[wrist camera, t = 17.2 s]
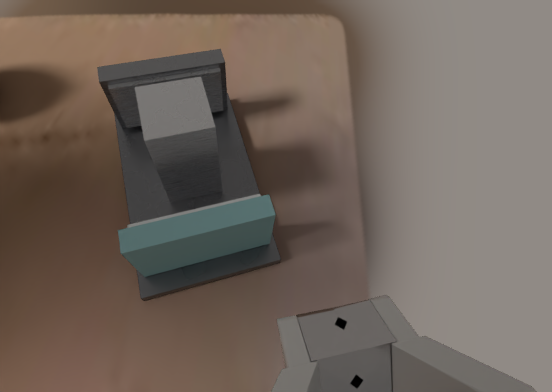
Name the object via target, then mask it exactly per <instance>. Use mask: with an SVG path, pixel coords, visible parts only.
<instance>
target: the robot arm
mask: <svg viewBox="0 0 552 392" xmlns="http://www.w3.org/2000/svg"><path fill="white" fill-rule="evenodd" d="M277 324H278V330H279V335H280V341H281V347H282V353H283V358H284V364H285V369H282V370H281V372H280V374H279V376H278V378H277V380H276V383H275V385H274V387H273V389H272V391H271V392H536V391H535V390H534V388H532V386H530V385H528V384H525V383H523V382H521V381H519V380H517V379H515V378H513V377H511V376H509V375H506V374H504V373H502V372H500V371H498V370H496V369H494V368H492V367H490V366H487V365H485V364H483V363H481V362H479V361H477V360H475V359H473V358H471V357H469V356H466V355H464V354H462V353H460V352H458V351H456V350H454V349H452V348H450V347H447V346H445V345H443V344H441V343H439V342H437V341H435V340H432V339H431V338H428V337H426V336H422V337H419V336H418V335H417V333H416V332H415V331H414V329H413V328H412V327H411V325H410V324H409V323H408V322H407V320H406V319H405V317H404V316H403V315H402V313H401V312H400V311H399V309H398V308H397V307H396V305H395V304H394V303H393V301H392V300H391V299H390V297H389V296H387V295H383V296H379V297H376V298H371V299H368V300H364V301H360V302H356V303H351V304H347V305H343V306H338V307H334V308H329V309H323V310H318V311H313V312H308V313H303V314H298V315H296V316H295V315H294V316H289V317H285V318H280V319H277Z"/></svg>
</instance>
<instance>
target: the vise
mask: <svg viewBox="0 0 552 392" xmlns="http://www.w3.org/2000/svg"><path fill="white" fill-rule="evenodd" d="M97 68H98V76H99V82H100V84H101V87H102V89H103V91H104V93H105V95H106V97H107V99H108V101H109V103H110V105H111V107H112V109H113V111H114V114H115V121H116V128H117V135H118V142H119V149H120V156H121V163H122V170H123V177H124V184H125V191H126V198H127V205H128V212H129V219H130V224H133V223H138V222H142V221H146V220H150V219H155V218H159V217H163V216H167V215H171V214H176V213H180V212H184V211H188V210H193V209H197V208H201V207H205V206H209V205H214V204H218V203H222V202H226V201H231V200H235V199H239V198H243V197H248V196H252V195H256V194H260V193H259V189H258V186H257V183H256V180H255V177H254V174H253V171H252V168H251V164H250V161H249V158H248V155H247V152H246V149H245V146H244V143H243V139H242V136H241V133H240V130H239V127H238V124H237V121H236V118H235V114H234V111H233V108H232V105H231V102H230V99H229V96H228V93H227V88H226V71H225V61H224V58H223V55H222V52H221V49H217V50H210V51H203V52H196V53H190V54H183V55H176V56H169V57H162V58H156V59H149V60H142V61H135V62H129V63H122V64H115V65H108V66H101V67H97ZM195 77H201V78H202V82H203V85H204V89H205V92H206V96H207V99H208V103H209V106H210V110H211V113H212V117H213V120H214V124H215V127H216V136H217V145H218V154H219V163H220V172H221V181H222V190H223V191H220V192H215V193H211V194H206V195H202V196H198V197H193V198H189V199H185V200H180V201H176V202H172V203H170V201H169V198H168V196H167V193H166V191H165V189H164V186H163V184H162V182H161V179H160V177H159V174H158V172H157V170H156V167H155V165H154V163H153V160H152V158H151V156H150V153H149V151H148V148H147V146H146V144H145V141H144V137H143V131H142V126H141V120H140V114H139V109H138V103H137V98H136V92H135V87H139V86H145V85H151V84H158V83H164V82H170V81H176V80H182V79H188V78H195ZM280 261H281V258H280V255H279V252H278V249H277V246H276V243H275V239H274V236H273V233H272V235H271V240H270V244H266V245H262V246H259V247H255V248H251V249H248V250H244V251H240V252H236V253H233V254H229V255H225V256H221V257H218V258H214V259H210V260H206V261H203V262H199V263H195V264H192V265H188V266H184V267H180V268H177V269H173V270H169V271H165V272H162V273H158V274H154V275H150V276H147V277H144V276H143V275H142V274H141V273H140V272H139V271H138V270H137V275H138V282H139V289H140V296H141V299H142V300H144V301H146V300H149V299H153V298H157V297H160V296H164V295H167V294H171V293H174V292H178V291H181V290H185V289H189V288H192V287H196V286H199V285H203V284H206V283H210V282H214V281H217V280H221V279H224V278H228V277H231V276H235V275H238V274H242V273H246V272H249V271H253V270H256V269H260V268H263V267H267V266H270V265H274V264H278V263H280Z"/></svg>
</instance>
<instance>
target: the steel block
mask: <svg viewBox="0 0 552 392" xmlns="http://www.w3.org/2000/svg"><path fill="white" fill-rule="evenodd" d="M135 92H136V98H137V103H138V109H139V114H140V120H141V126H142V131H143V137H144V141H145V144H146V146H147V148H148V151H149V153H150V156H151V158H152V160H153V163H154V165H155V167H156V170H157V172H158V174H159V177H160V179H161V182H162V184H163V186H164V189H165V191H166V193H167V196H168V198H169V201H170V203H172V202H176V201H180V200H185V199H189V198H193V197H198V196H202V195H206V194H211V193H215V192H220V191H223V190H222V181H221V172H220V163H219V154H218V145H217V136H216V127H215V124H214V120H213V117H212V113H211V110H210V106H209V103H208V99H207V96H206V92H205V89H204V85H203V82H202V78H201V77H195V78H188V79H182V80H176V81H170V82H164V83H158V84H151V85H145V86H139V87H135Z"/></svg>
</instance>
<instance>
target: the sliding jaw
mask: <svg viewBox="0 0 552 392" xmlns="http://www.w3.org/2000/svg"><path fill="white" fill-rule="evenodd" d="M275 215H276V214H275V211H274V208H273V205H272V202H271V199H270V196H269V194H268V195H264V196H261V195H260V194H256V195H252V196H248V197H243V198H239V199H235V200H231V201H226V202H222V203H218V204H214V205H209V206H205V207H201V208H197V209H193V210H188V211H184V212H180V213H176V214H171V215H167V216H163V217H159V218H155V219H150V220H146V221H142V222H138V223H133V224H129V225H127V227H128V228H125V229H121V230H118V235H119V243H120V250H121V254H122V255H123V256H124V257H125V258H126V259H127V260H128V261H129V262H130V263H131V264H132V265H133V266H134V267H135V268H136V269H137V270H138V271H139V272H140V273H141V274H142V275H143V276H144V277H147V276H150V275H154V274H158V273H162V272H165V271H169V270H173V269H177V268H180V267H184V266H188V265H192V264H195V263H199V262H203V261H206V260H210V259H214V258H218V257H221V256H225V255H229V254H233V253H236V252H240V251H244V250H248V249H251V248H255V247H259V246H262V245H266V244H270V240H271V235H272V230H273V225H274V220H275Z"/></svg>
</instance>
